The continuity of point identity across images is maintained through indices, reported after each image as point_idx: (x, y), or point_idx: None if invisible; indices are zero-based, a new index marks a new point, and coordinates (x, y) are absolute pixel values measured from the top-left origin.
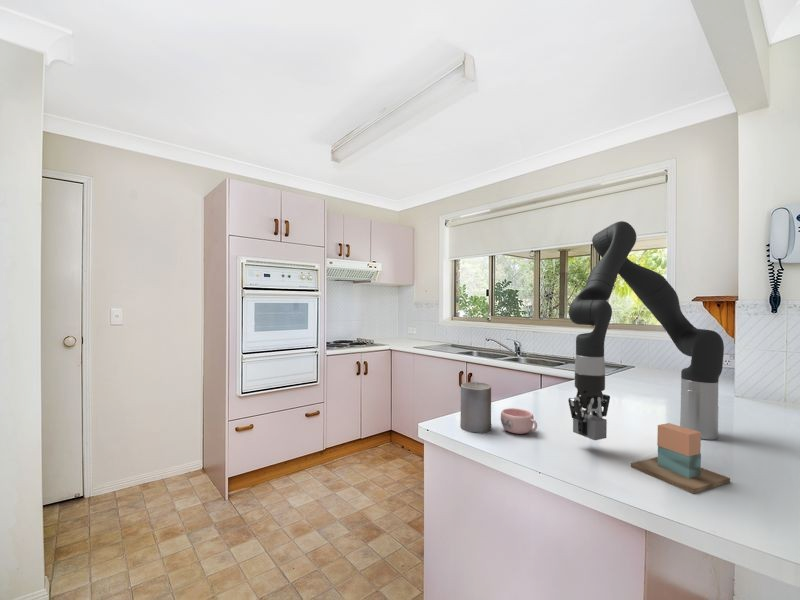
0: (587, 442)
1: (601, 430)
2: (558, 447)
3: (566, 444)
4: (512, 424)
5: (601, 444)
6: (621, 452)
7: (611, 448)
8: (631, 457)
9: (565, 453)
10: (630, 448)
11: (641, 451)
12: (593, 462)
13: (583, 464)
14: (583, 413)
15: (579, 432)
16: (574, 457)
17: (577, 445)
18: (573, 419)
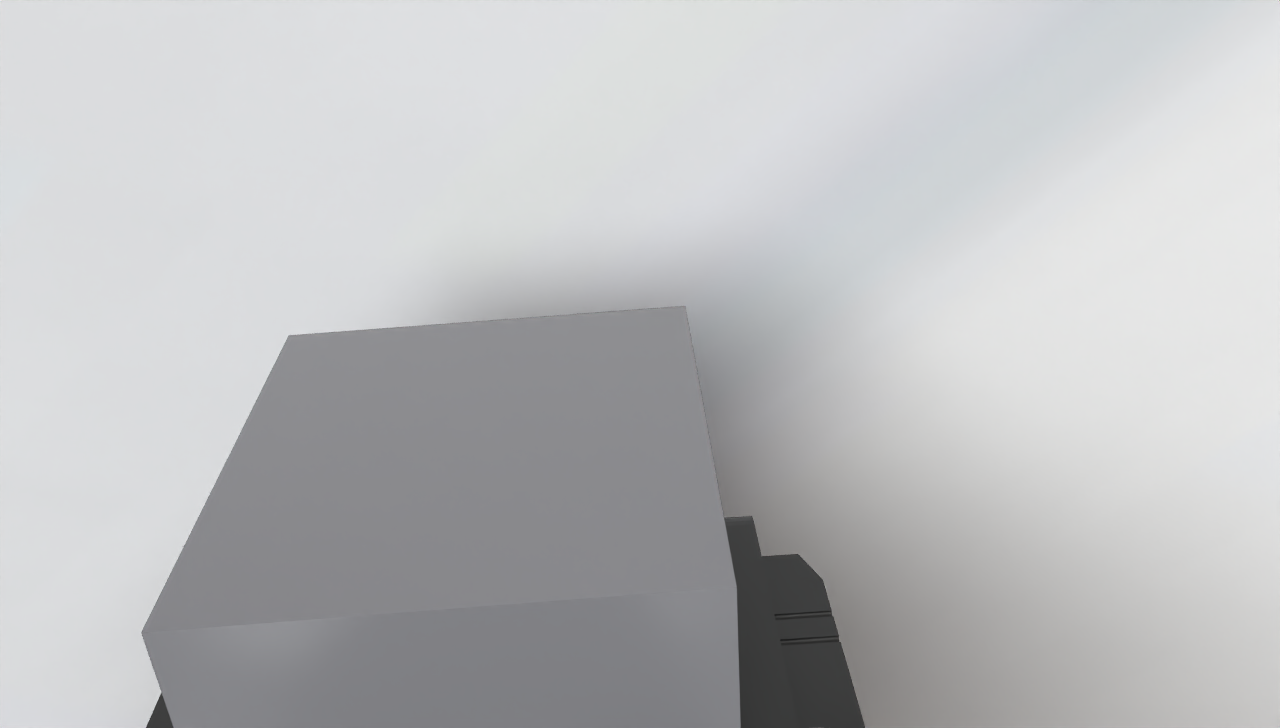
0: (828, 112)
1: None
2: (35, 143)
3: (311, 66)
4: None
5: (986, 268)
6: (955, 581)
7: (969, 440)
8: (909, 718)
9: (8, 390)
10: (1249, 515)
11: (1266, 625)
12: None
13: (51, 719)
14: (602, 657)
15: None
16: (68, 537)
17: (500, 174)
18: (201, 532)
